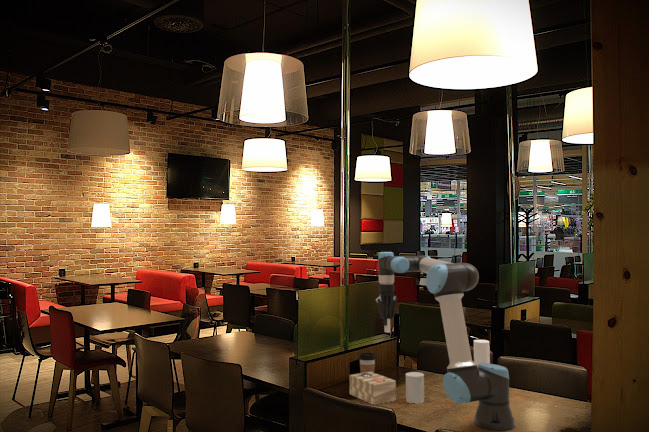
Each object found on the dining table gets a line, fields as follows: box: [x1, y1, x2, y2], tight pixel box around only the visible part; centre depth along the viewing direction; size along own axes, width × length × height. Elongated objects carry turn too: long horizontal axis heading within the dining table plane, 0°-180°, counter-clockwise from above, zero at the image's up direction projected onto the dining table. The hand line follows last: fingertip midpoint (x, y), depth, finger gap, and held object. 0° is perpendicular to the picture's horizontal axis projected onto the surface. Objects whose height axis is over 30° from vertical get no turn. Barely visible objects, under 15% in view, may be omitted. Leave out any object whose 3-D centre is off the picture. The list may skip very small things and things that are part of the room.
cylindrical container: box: [473, 339, 491, 368], centre depth 258 cm, size 7×7×25 cm
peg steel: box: [361, 373, 371, 377], centre depth 260 cm, size 4×4×9 cm
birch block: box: [348, 372, 397, 406], centre depth 256 cm, size 20×12×9 cm, turn 31°
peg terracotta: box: [374, 378, 383, 382], centre depth 252 cm, size 4×4×9 cm
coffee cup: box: [358, 352, 376, 373], centre depth 280 cm, size 8×8×15 cm
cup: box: [405, 371, 425, 405], centre depth 250 cm, size 8×8×12 cm
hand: (387, 332), depth 269 cm, fingers closed
